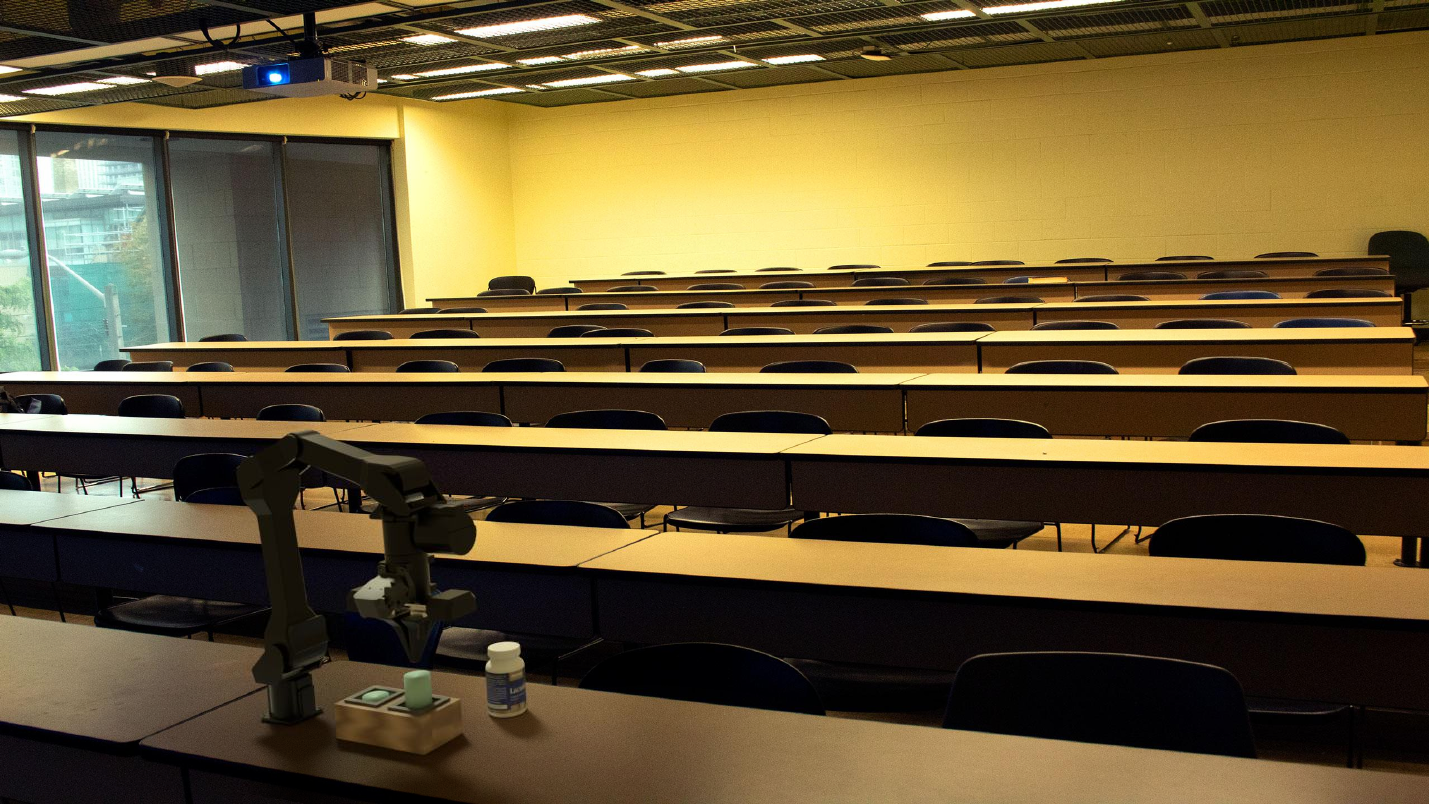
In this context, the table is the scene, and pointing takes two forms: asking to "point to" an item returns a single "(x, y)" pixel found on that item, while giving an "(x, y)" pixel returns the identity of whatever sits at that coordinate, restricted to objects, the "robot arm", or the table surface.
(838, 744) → the table surface
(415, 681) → the plunger
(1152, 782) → the table surface
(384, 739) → the socket block
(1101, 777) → the table surface
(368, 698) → the plunger
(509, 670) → the pill bottle
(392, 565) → the robot arm
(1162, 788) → the table surface
